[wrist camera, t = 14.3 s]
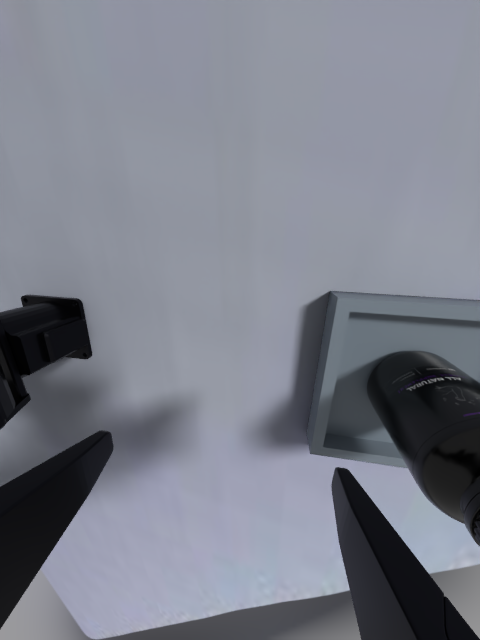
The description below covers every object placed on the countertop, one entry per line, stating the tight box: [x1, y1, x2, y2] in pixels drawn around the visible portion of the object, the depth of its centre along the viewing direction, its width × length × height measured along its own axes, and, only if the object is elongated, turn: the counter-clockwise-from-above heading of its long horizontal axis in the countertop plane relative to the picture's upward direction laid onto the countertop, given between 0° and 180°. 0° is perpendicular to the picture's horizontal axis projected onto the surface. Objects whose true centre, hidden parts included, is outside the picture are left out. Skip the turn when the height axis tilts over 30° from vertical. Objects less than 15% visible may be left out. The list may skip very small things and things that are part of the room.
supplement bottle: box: [367, 351, 480, 546], centre depth 14 cm, size 7×7×12 cm
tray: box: [307, 291, 480, 468], centre depth 19 cm, size 15×15×2 cm
